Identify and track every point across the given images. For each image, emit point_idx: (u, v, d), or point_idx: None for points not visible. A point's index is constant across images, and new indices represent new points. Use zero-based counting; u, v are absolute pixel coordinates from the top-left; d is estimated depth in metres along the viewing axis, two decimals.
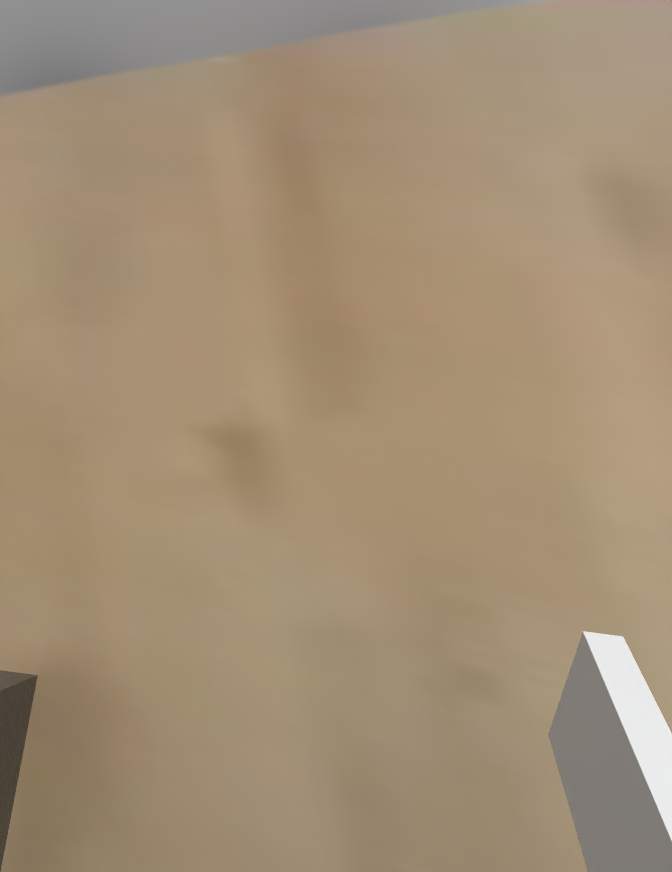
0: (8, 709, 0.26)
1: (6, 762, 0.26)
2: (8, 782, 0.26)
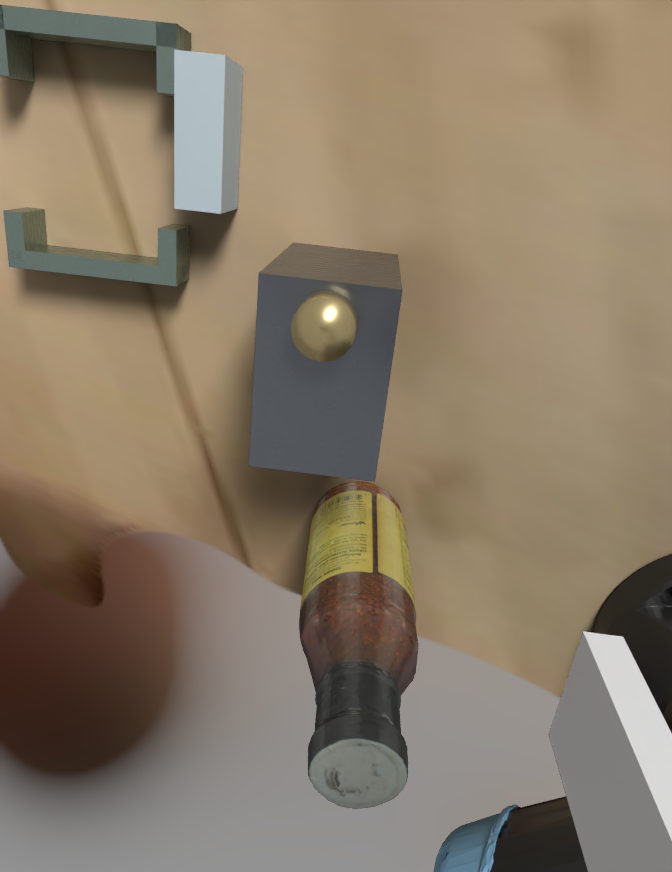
0: None
1: None
2: None
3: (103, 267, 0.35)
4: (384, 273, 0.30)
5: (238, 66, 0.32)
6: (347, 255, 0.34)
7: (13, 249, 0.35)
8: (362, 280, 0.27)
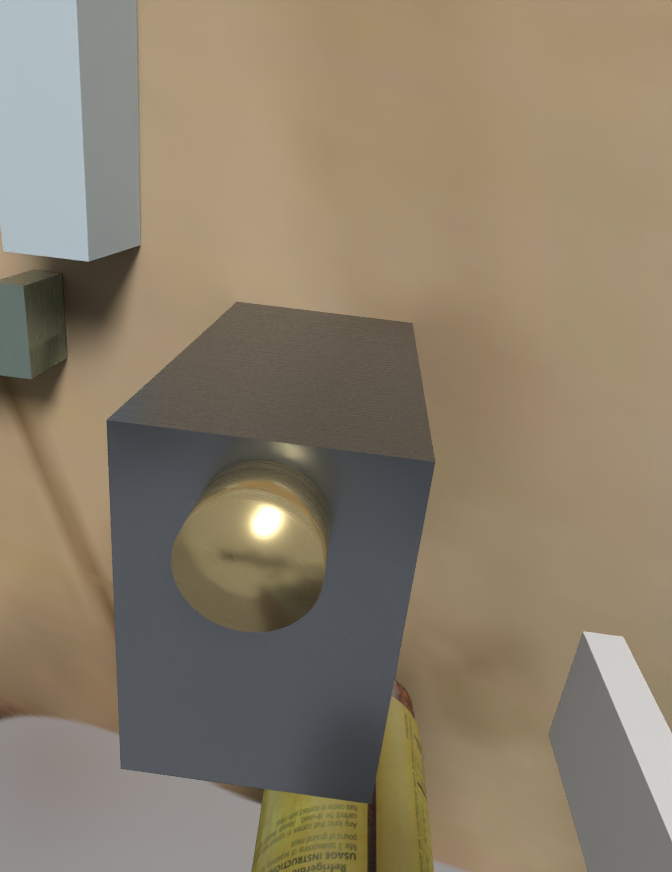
0: None
1: None
2: None
3: None
4: (392, 390, 0.15)
5: None
6: (325, 332, 0.19)
7: None
8: (345, 427, 0.12)
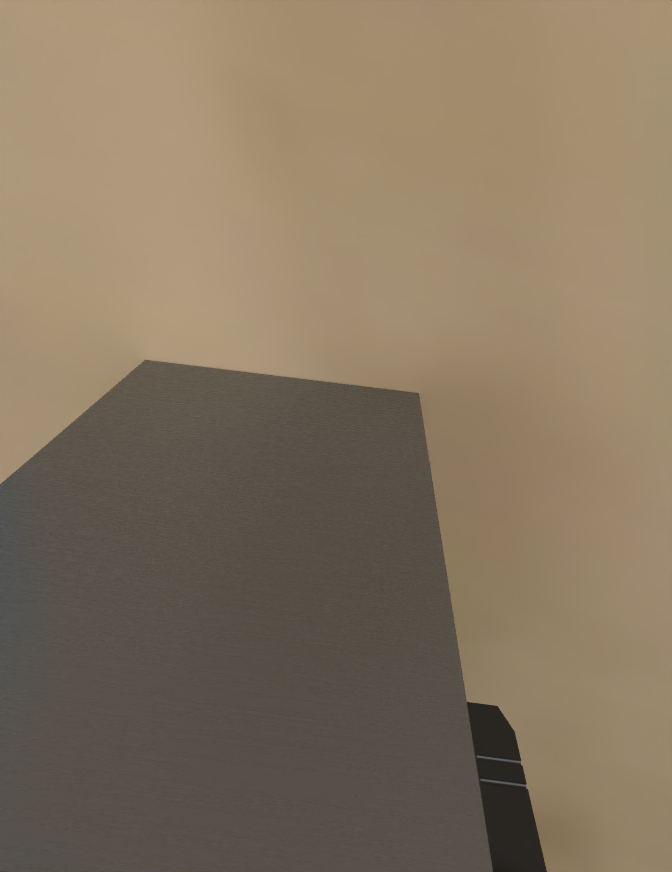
0: None
1: None
2: None
3: None
4: (386, 611, 0.07)
5: None
6: (273, 427, 0.11)
7: None
8: (262, 817, 0.05)
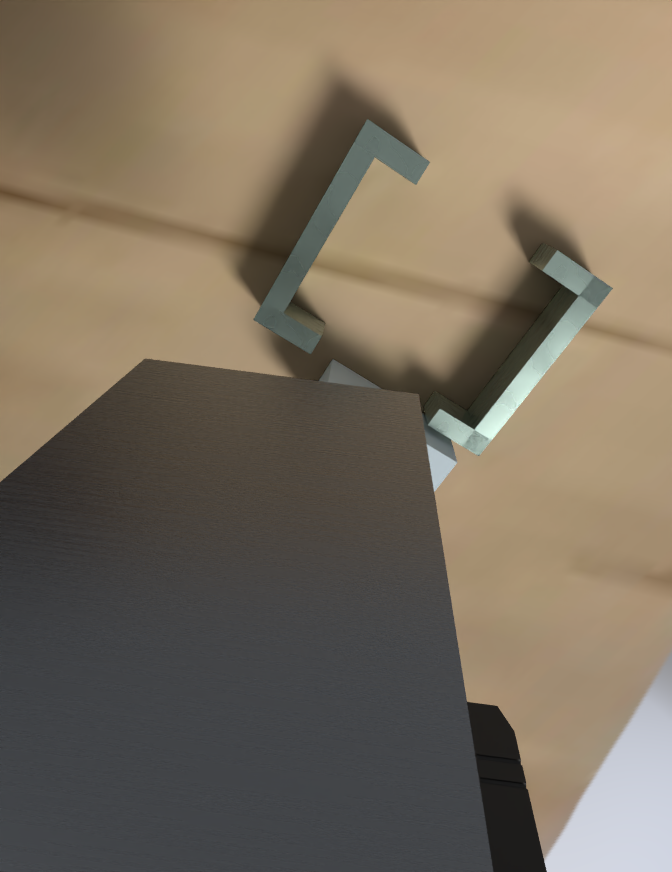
0: None
1: None
2: None
3: (310, 246, 0.27)
4: (387, 612, 0.07)
5: None
6: (274, 426, 0.11)
7: (383, 141, 0.25)
8: (263, 819, 0.05)
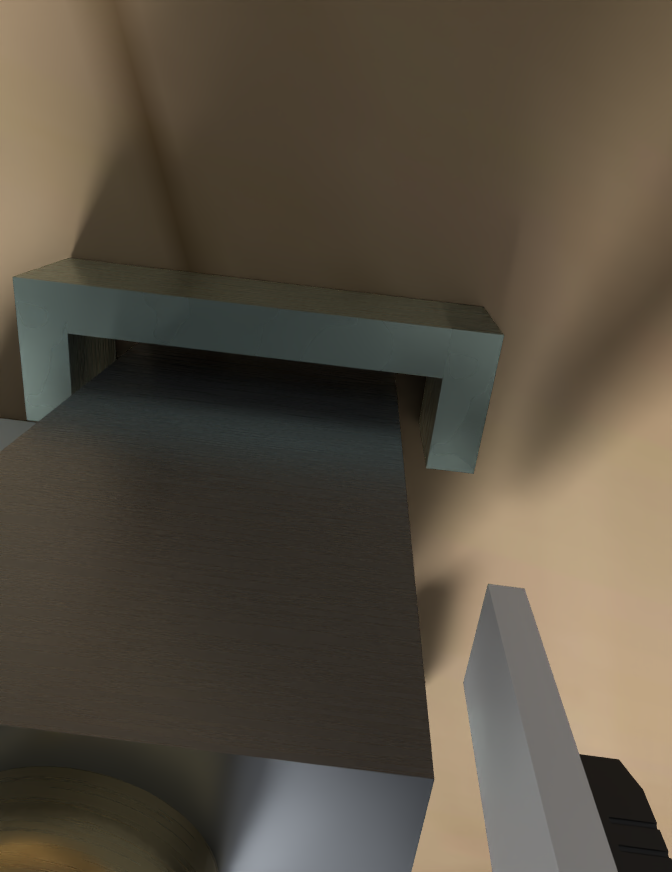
0: None
1: None
2: None
3: (222, 331, 0.12)
4: (354, 527, 0.08)
5: None
6: (262, 391, 0.13)
7: (476, 381, 0.13)
8: (250, 655, 0.06)
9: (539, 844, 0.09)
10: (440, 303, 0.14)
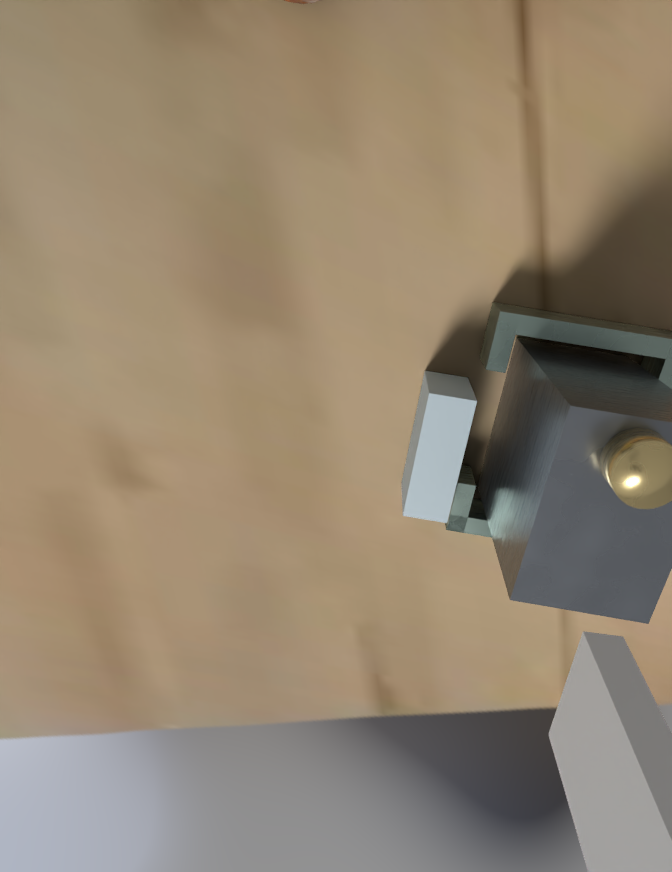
0: None
1: None
2: None
3: (580, 336, 0.31)
4: (669, 397, 0.27)
5: (402, 489, 0.37)
6: (591, 361, 0.32)
7: None
8: (671, 414, 0.25)
9: None
10: (655, 328, 0.33)
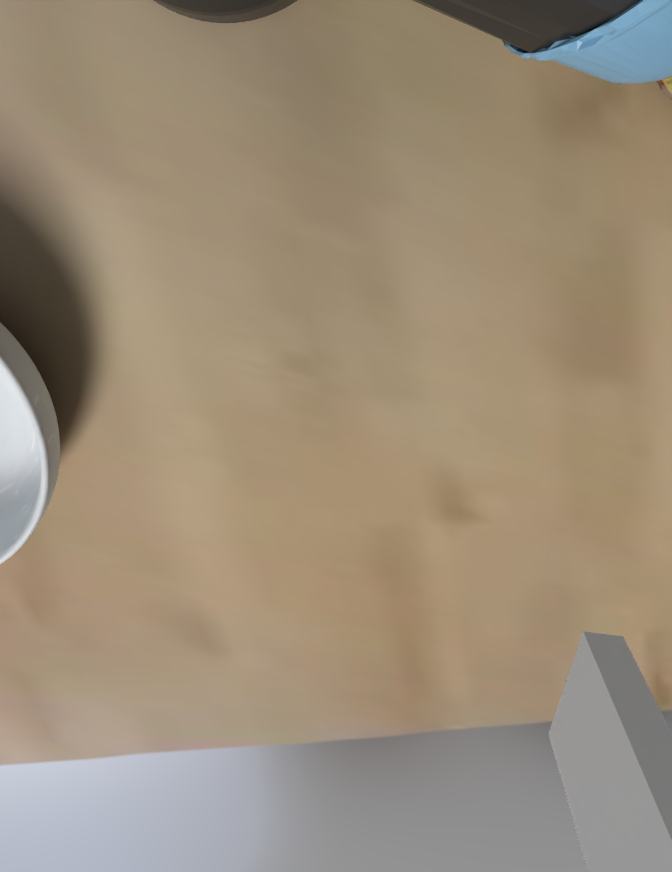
0: None
1: None
2: None
3: None
4: None
5: None
6: None
7: None
8: None
9: None
10: None
